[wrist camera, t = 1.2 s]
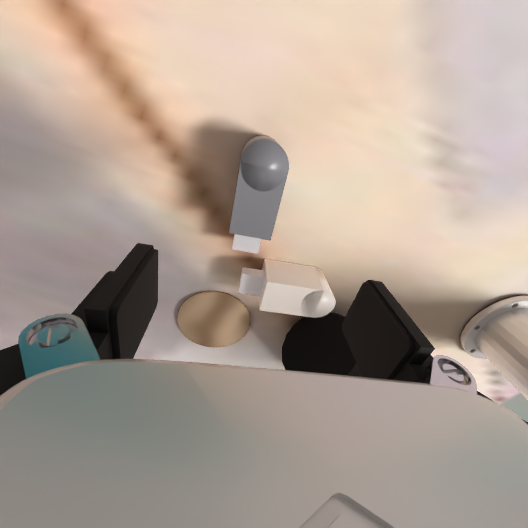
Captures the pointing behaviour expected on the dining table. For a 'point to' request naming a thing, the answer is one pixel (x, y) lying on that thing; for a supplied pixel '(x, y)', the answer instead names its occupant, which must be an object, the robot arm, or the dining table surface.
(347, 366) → the black capped bottle
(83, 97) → the dining table surface
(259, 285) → the cream plug
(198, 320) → the cork coaster
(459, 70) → the dining table surface
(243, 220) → the grey plug
